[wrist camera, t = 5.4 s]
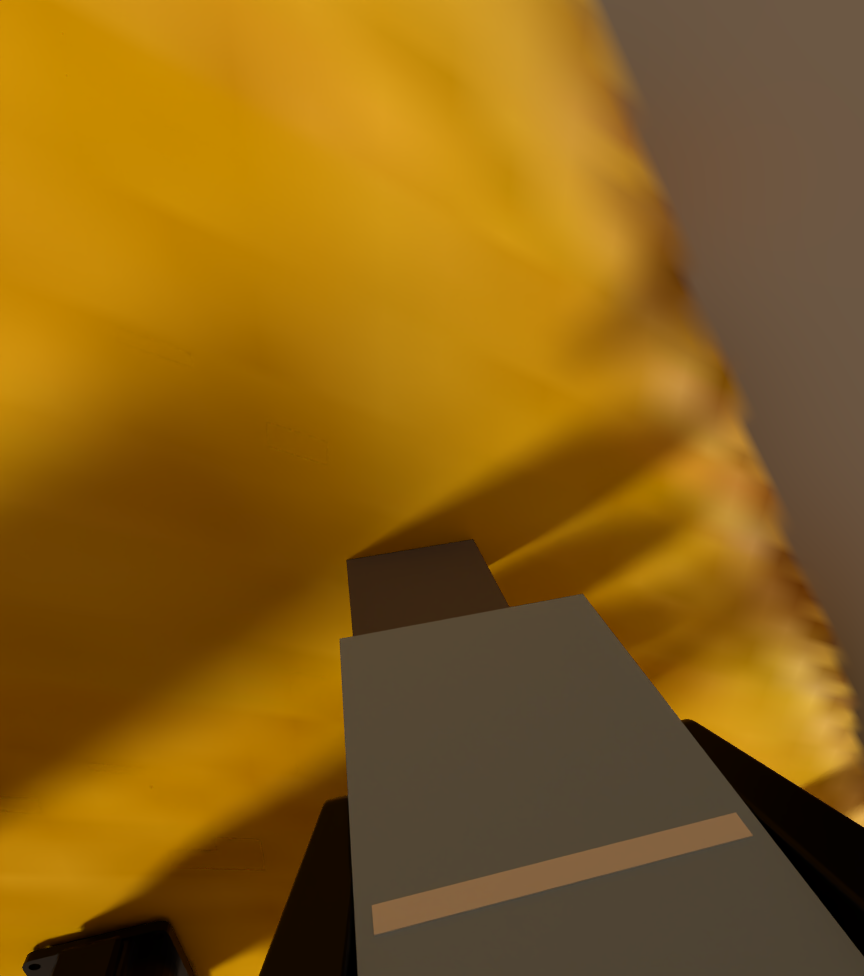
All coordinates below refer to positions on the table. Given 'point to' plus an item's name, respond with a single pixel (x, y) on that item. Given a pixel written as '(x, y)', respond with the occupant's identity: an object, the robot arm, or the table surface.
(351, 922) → the robot arm
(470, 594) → the domino
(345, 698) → the domino
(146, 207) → the table surface
